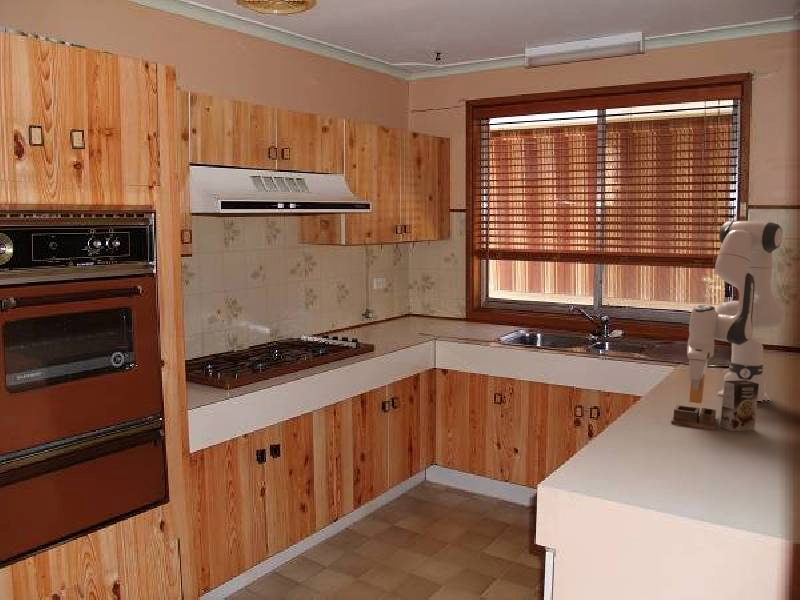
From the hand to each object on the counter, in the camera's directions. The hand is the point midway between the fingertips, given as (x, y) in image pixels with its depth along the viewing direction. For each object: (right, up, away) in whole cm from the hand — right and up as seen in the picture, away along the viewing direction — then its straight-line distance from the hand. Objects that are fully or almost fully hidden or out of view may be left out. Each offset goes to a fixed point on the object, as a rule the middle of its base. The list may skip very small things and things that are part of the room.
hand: (697, 387), depth 258 cm
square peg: (0, -5, +1) cm, 5 cm away
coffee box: (+7, -12, -16) cm, 21 cm away
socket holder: (-5, -11, -11) cm, 16 cm away
